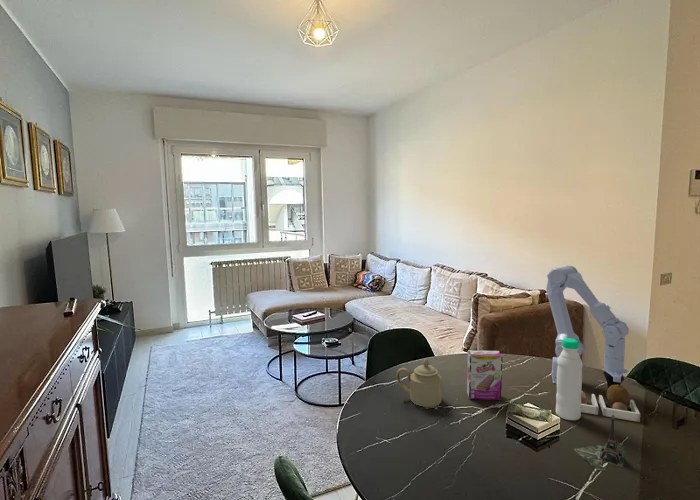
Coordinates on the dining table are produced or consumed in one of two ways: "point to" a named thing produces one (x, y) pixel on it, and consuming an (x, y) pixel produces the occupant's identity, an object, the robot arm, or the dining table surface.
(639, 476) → the dining table surface
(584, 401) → the walnut ball
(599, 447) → the eiffel tower figurine
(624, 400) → the fruit
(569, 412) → the water bottle
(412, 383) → the sugar bowl
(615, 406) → the walnut ball
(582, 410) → the trough left
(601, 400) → the trough right
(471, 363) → the candy bar box
